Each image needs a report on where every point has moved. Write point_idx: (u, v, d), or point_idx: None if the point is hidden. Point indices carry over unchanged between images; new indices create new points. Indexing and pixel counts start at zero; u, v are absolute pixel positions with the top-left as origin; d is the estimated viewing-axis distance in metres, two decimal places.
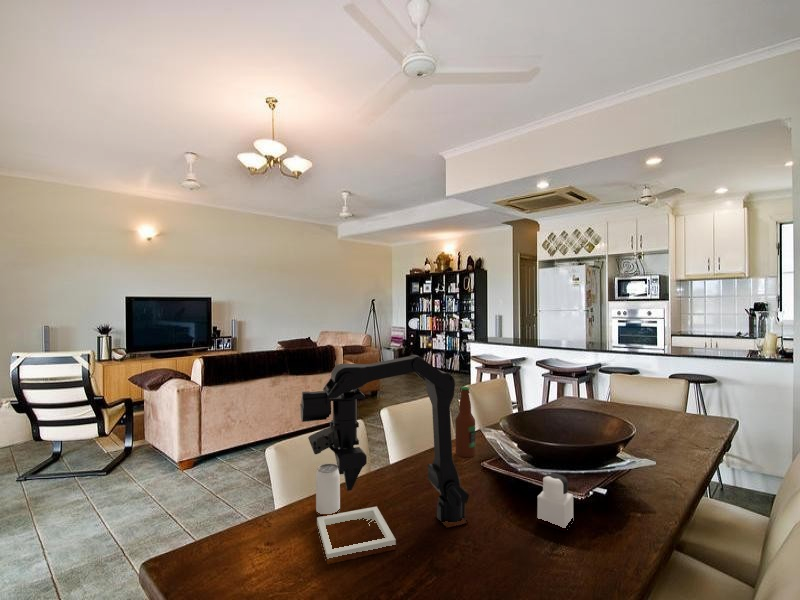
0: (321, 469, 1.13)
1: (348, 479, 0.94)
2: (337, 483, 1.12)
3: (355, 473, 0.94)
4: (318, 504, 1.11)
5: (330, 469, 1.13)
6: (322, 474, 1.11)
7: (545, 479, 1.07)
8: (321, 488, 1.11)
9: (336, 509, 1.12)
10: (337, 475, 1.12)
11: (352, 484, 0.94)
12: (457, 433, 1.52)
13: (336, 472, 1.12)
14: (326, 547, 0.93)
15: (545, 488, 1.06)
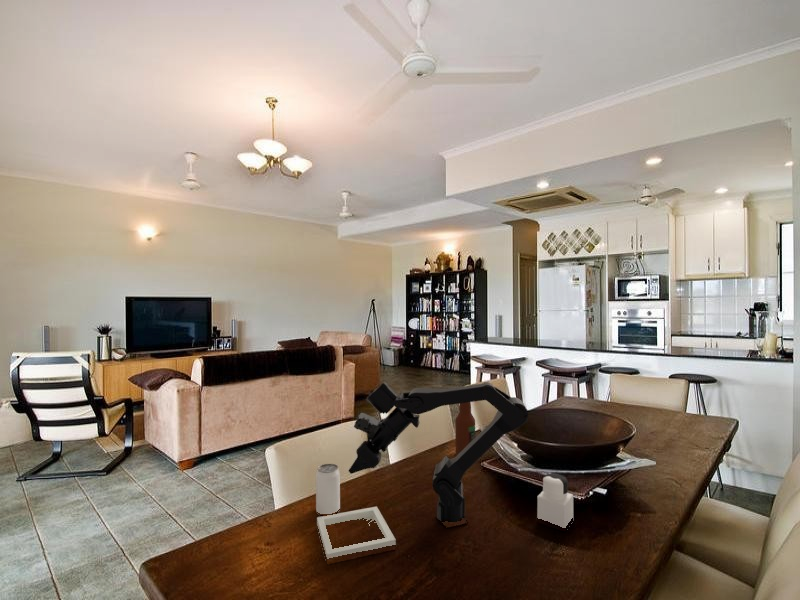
0: (321, 469, 1.13)
1: (355, 464, 1.06)
2: (337, 483, 1.12)
3: (362, 466, 1.06)
4: (318, 504, 1.11)
5: (330, 469, 1.13)
6: (322, 474, 1.11)
7: (545, 479, 1.07)
8: (321, 488, 1.11)
9: (336, 509, 1.12)
10: (337, 475, 1.12)
11: (354, 470, 1.07)
12: (457, 433, 1.52)
13: (336, 472, 1.12)
14: (326, 547, 0.93)
15: (545, 488, 1.06)
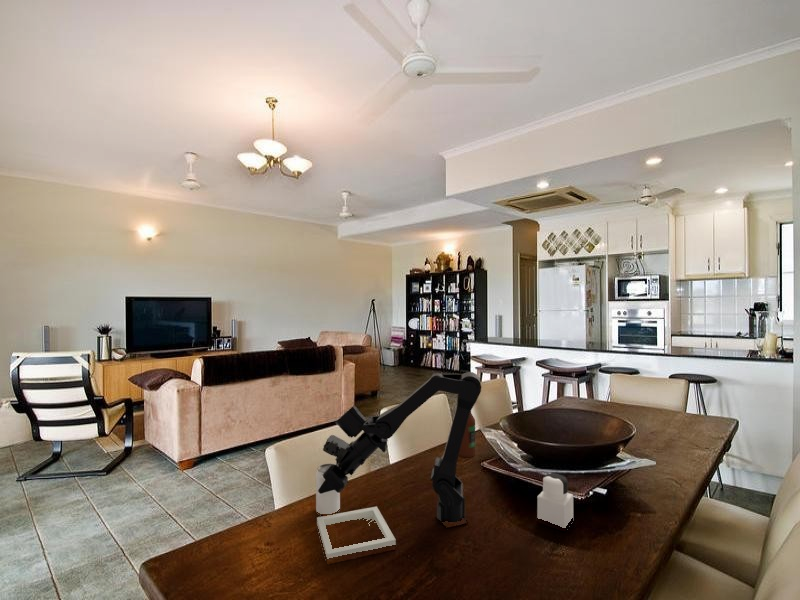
0: (321, 469, 1.13)
1: (324, 485, 1.09)
2: None
3: (331, 487, 1.09)
4: (318, 504, 1.11)
5: None
6: (322, 474, 1.11)
7: (545, 479, 1.07)
8: None
9: (336, 509, 1.12)
10: None
11: (323, 491, 1.10)
12: None
13: None
14: (326, 547, 0.93)
15: (545, 488, 1.06)
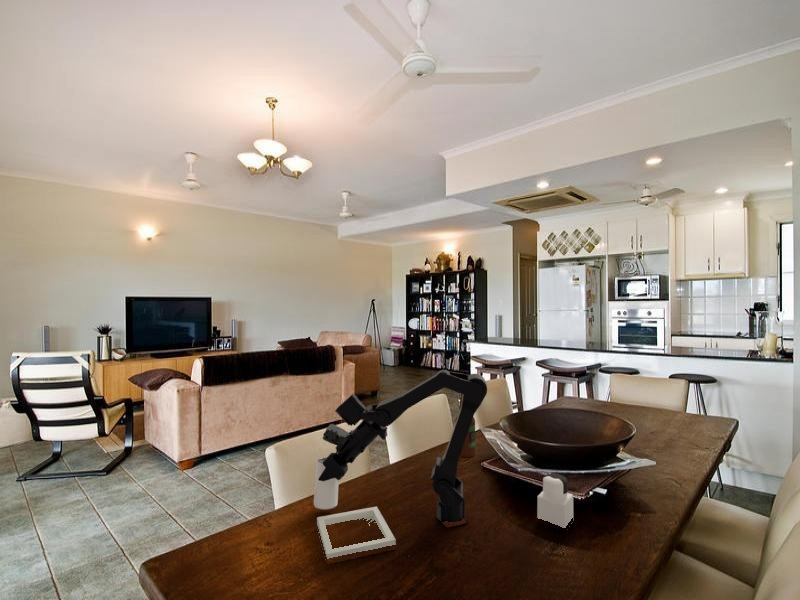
0: (321, 461, 1.14)
1: (324, 473, 1.09)
2: None
3: (331, 475, 1.09)
4: (316, 497, 1.10)
5: None
6: (323, 465, 1.11)
7: (545, 479, 1.07)
8: None
9: (334, 503, 1.11)
10: None
11: (324, 479, 1.10)
12: None
13: None
14: (326, 547, 0.93)
15: (545, 488, 1.06)
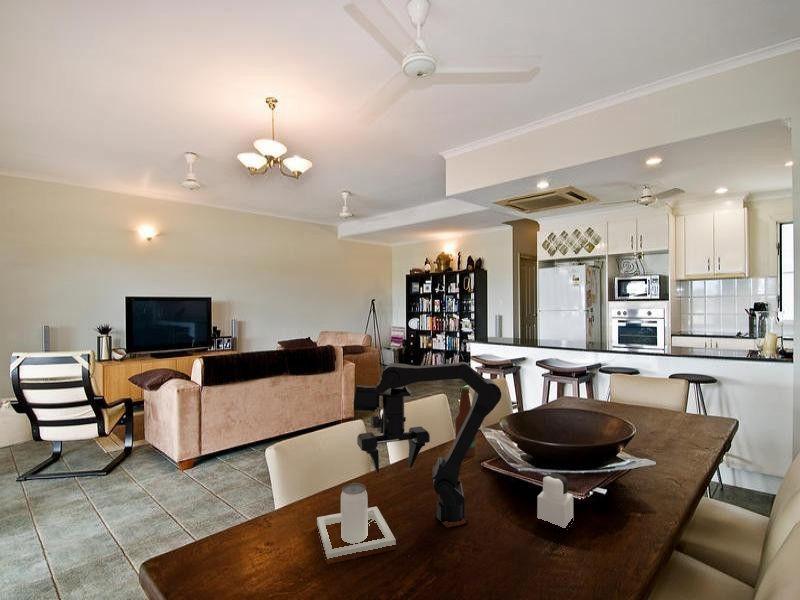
0: (347, 491, 0.99)
1: None
2: (367, 503, 1.00)
3: None
4: (349, 532, 0.97)
5: (357, 489, 1.00)
6: (355, 496, 0.97)
7: (545, 479, 1.07)
8: (354, 512, 0.97)
9: (367, 532, 0.99)
10: None
11: (375, 468, 1.07)
12: (457, 433, 1.52)
13: (365, 491, 1.00)
14: (326, 547, 0.93)
15: (545, 488, 1.06)
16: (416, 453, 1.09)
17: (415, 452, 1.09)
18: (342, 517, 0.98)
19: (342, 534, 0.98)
